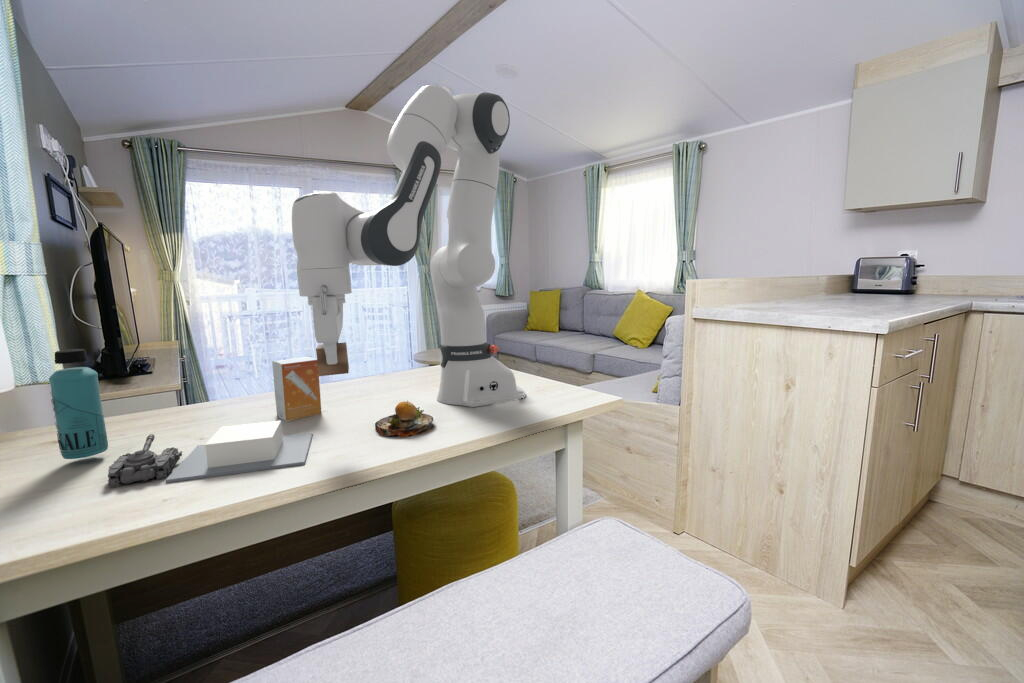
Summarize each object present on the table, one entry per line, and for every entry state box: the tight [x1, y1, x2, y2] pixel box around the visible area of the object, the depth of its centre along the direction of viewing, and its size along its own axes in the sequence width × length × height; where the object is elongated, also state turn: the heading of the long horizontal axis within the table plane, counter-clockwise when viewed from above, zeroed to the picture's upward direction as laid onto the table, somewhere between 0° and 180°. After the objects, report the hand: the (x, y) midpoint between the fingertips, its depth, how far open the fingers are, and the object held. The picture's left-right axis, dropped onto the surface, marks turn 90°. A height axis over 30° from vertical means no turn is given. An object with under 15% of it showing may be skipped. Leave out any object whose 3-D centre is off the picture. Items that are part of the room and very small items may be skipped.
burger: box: [374, 401, 435, 438], centre depth 98 cm, size 12×12×8 cm
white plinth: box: [204, 419, 284, 468], centre depth 84 cm, size 10×10×4 cm
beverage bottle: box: [48, 348, 109, 460], centre depth 82 cm, size 6×7×20 cm
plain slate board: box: [165, 432, 314, 484], centre depth 84 cm, size 20×16×1 cm
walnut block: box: [315, 342, 350, 377], centre depth 87 cm, size 5×5×5 cm
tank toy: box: [107, 433, 183, 489], centre depth 78 cm, size 12×10×5 cm
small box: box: [271, 356, 322, 422], centre depth 108 cm, size 8×6×13 cm
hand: (333, 360), depth 87 cm, fingers closed on walnut block, 5 cm apart
